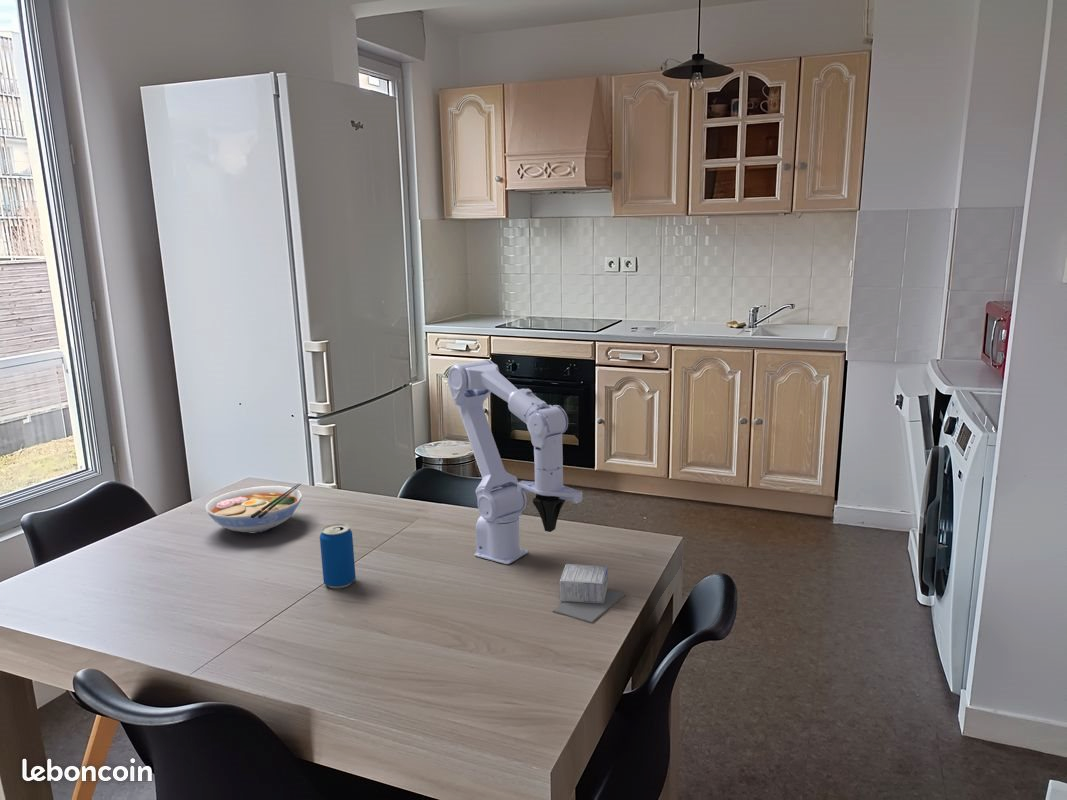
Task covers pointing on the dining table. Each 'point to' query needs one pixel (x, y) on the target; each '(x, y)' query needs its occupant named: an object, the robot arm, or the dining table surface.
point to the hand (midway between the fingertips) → (550, 530)
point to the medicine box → (583, 583)
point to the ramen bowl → (254, 507)
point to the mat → (588, 607)
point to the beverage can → (337, 556)
